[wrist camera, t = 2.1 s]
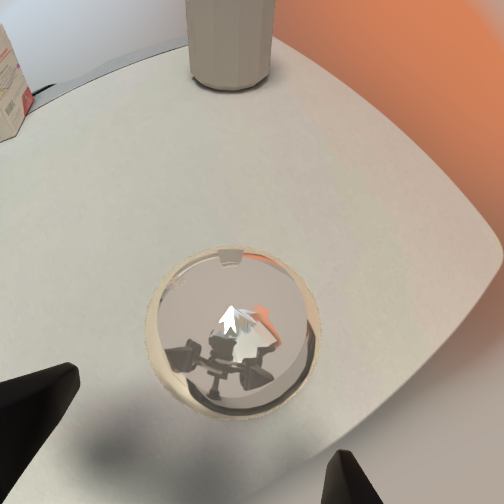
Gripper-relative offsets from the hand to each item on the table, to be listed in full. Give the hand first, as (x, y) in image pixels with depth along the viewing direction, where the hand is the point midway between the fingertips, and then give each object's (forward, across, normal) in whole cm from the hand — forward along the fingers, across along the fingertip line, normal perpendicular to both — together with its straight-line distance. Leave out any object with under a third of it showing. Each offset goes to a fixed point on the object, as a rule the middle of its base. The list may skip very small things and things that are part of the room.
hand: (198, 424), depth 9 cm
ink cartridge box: (+23, +39, -8) cm, 46 cm away
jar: (+33, +10, -17) cm, 38 cm away
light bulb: (+10, 0, +5) cm, 11 cm away
